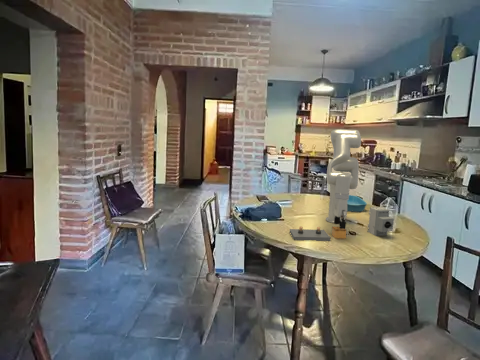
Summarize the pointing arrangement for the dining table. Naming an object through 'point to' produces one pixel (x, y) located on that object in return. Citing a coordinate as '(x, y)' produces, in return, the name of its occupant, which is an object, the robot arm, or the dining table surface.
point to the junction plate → (309, 234)
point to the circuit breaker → (379, 221)
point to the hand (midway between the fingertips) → (339, 226)
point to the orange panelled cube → (338, 232)
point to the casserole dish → (355, 204)
